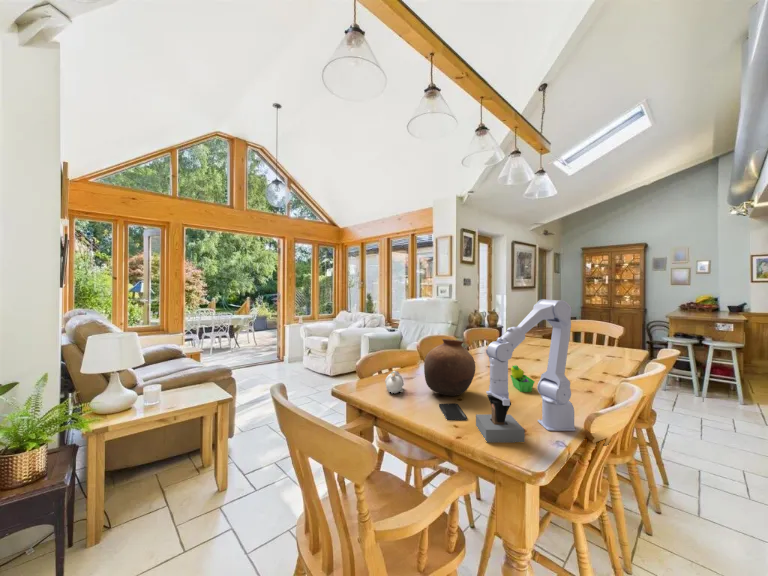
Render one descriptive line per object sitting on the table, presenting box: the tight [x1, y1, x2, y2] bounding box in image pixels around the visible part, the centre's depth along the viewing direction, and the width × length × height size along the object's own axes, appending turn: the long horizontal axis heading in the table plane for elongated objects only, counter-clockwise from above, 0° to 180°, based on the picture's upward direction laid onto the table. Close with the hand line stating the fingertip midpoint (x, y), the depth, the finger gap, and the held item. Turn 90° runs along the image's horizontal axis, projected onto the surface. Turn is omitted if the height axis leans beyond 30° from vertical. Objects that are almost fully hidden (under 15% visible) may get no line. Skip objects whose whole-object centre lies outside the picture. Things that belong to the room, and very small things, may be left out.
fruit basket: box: [510, 364, 536, 393], centre depth 154 cm, size 11×9×11 cm
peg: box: [491, 403, 505, 425], centre depth 108 cm, size 3×3×8 cm
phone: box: [438, 402, 468, 421], centre depth 126 cm, size 8×1×15 cm
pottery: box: [423, 338, 476, 397], centre depth 148 cm, size 23×23×25 cm
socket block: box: [475, 413, 526, 443], centre depth 108 cm, size 12×12×4 cm
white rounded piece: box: [384, 370, 405, 394], centre depth 152 cm, size 10×8×15 cm
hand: (498, 419), depth 108 cm, fingers closed on peg, 3 cm apart
